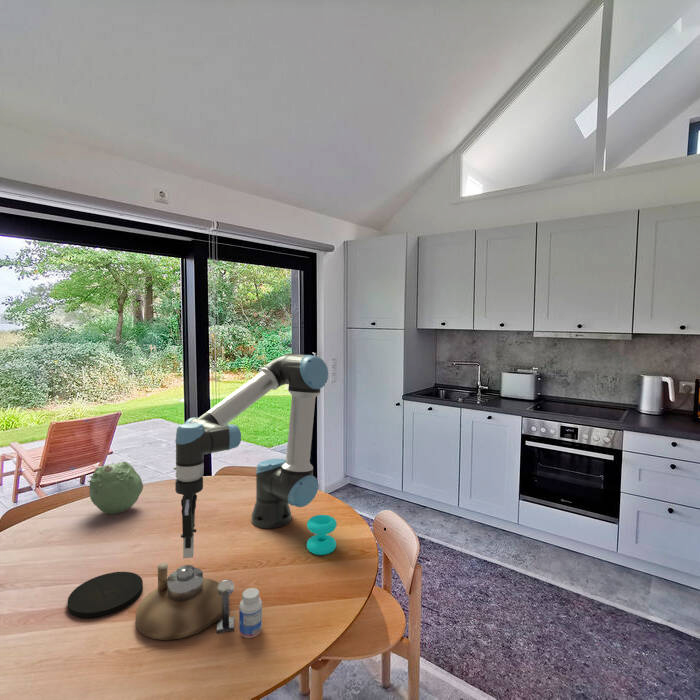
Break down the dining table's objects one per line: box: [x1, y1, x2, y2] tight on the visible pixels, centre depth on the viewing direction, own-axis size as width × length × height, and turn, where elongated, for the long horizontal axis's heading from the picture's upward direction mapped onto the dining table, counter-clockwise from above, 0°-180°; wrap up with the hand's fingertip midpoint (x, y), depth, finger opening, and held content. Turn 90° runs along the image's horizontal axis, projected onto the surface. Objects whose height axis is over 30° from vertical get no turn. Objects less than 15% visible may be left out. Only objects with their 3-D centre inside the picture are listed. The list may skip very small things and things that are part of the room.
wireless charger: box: [67, 571, 144, 620], centre depth 115 cm, size 18×18×2 cm
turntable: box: [135, 562, 222, 641], centre depth 110 cm, size 22×22×8 cm
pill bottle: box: [238, 587, 263, 639], centre depth 103 cm, size 6×5×10 cm
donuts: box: [306, 514, 338, 556], centre depth 142 cm, size 10×10×10 cm
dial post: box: [216, 578, 235, 634], centre depth 105 cm, size 4×4×12 cm
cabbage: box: [87, 461, 144, 515], centre depth 166 cm, size 16×19×20 cm
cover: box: [167, 564, 204, 602], centre depth 114 cm, size 9×9×6 cm
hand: (188, 556), depth 123 cm, fingers closed
